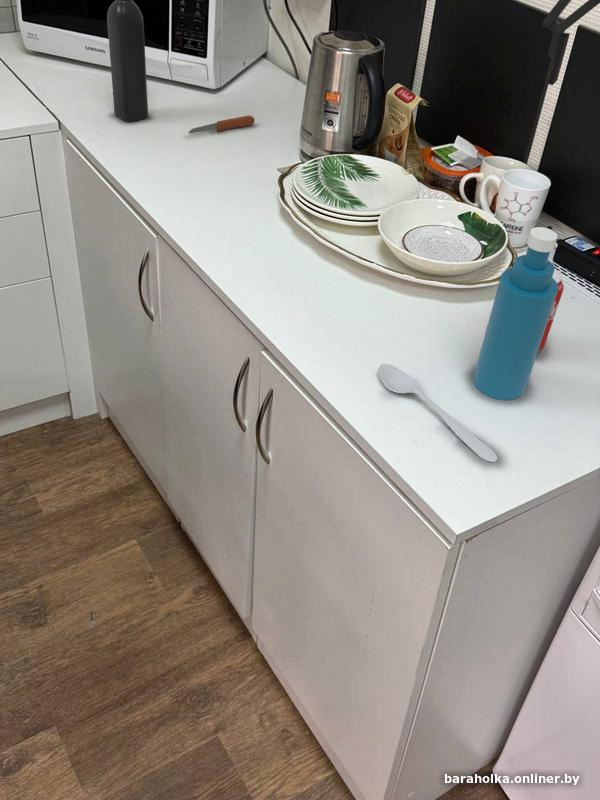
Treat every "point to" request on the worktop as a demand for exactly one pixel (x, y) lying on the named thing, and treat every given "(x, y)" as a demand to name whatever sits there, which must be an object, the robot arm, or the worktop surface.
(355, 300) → the worktop surface
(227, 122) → the kitchen knife
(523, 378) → the water bottle
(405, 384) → the spoon
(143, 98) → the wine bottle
